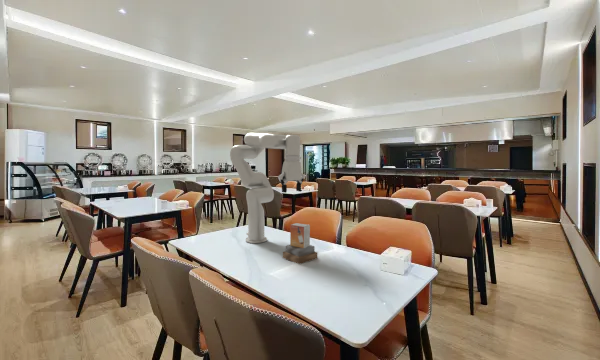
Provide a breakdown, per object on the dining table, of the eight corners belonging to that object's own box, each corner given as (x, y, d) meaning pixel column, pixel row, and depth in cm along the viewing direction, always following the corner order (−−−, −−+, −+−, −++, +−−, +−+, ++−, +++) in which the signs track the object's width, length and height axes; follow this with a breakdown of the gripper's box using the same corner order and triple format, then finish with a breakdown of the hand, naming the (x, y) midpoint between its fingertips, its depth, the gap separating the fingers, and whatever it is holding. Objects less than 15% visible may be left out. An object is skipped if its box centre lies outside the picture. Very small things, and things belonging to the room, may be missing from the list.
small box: (290, 246, 143) (290, 224, 142) (296, 243, 148) (296, 222, 147) (304, 248, 139) (304, 226, 138) (310, 245, 143) (310, 224, 143)
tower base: (282, 257, 144) (282, 245, 143) (300, 252, 152) (300, 241, 151) (299, 264, 135) (299, 251, 134) (317, 258, 143) (317, 246, 142)
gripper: (300, 158, 161) (299, 189, 162) (274, 158, 149) (273, 191, 151) (309, 159, 155) (308, 191, 157) (283, 159, 144) (282, 193, 145)
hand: (291, 191), depth 154 cm, fingers open, 9 cm apart
